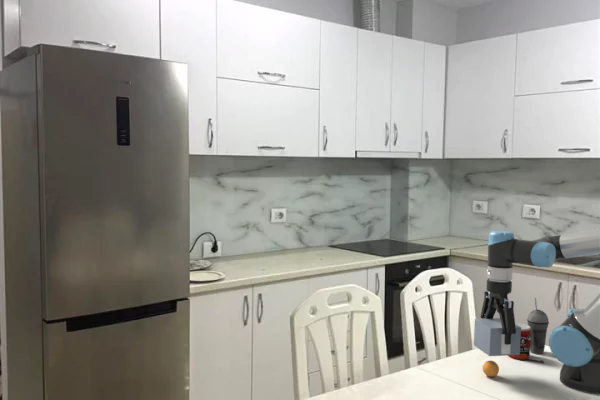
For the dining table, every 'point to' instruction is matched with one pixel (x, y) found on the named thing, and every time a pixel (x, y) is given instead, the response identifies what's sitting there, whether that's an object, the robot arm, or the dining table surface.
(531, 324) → the beverage cup
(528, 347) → the canned food
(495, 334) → the slate blue cube
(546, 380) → the dining table surface
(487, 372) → the ball
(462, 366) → the dining table surface
